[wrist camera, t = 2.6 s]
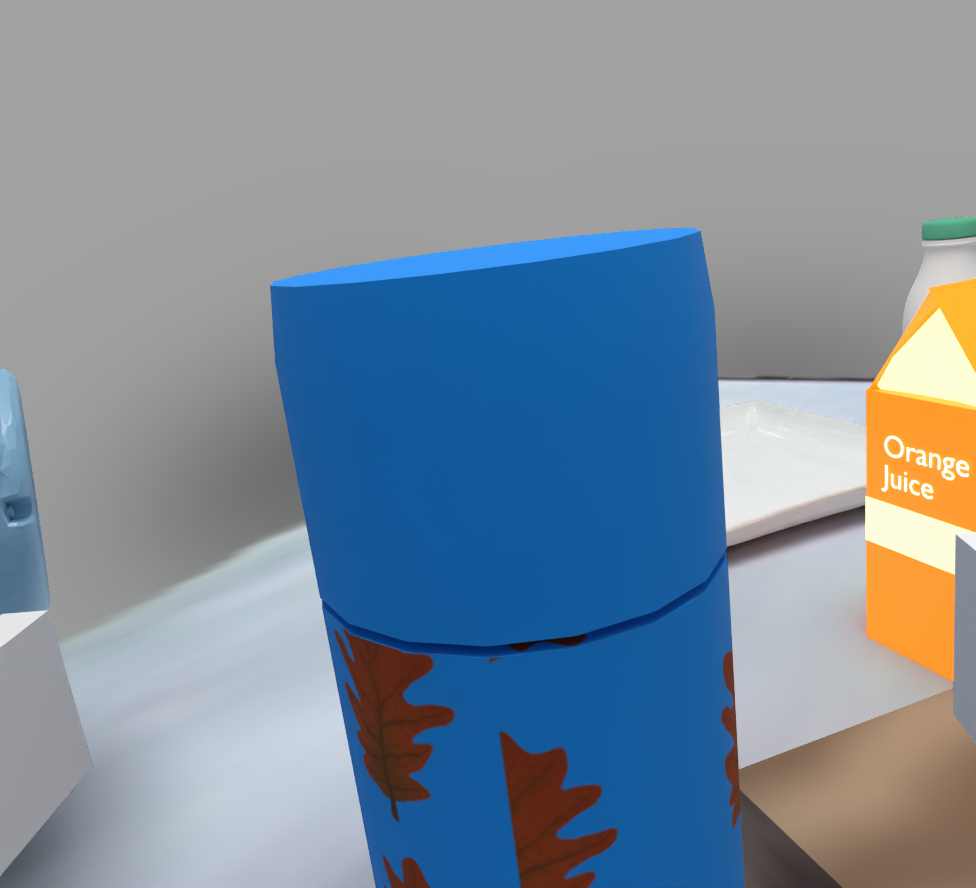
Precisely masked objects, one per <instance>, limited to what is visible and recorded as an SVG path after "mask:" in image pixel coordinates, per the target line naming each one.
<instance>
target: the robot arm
mask: <svg viewBox="0 0 976 888" xmlns="http://www.w3.org/2000/svg"><path fill="white" fill-rule="evenodd" d="M49 600H50V596H49V586H48V578H47V570H46V564H45V555H44V548H43V542H42V534H41V527H40V520H39V514H38V506H37V500H36V493H35V486H34V479H33V472H32V466H31V460H30V454H29V447H28V440H27V433H26V426H25V420H24V414H23V408H22V401H21V395H20V391H19V386H18V381H17V379H16V378H15V376H14V375H13V374H12V373H10V372H9V371H7V370H4V369H0V876H1V875H2V873H3V872H4V871H5V870H6V869H7V868H8V866H9V865H10V864H11V863H12V862H13V860H14V859H15V858H16V857H17V856H18V854H19V853H20V852H21V851H22V850H23V849H24V847H25V846H26V845H27V844H28V843H29V841H30V840H31V839H32V838H33V837H34V835H35V834H36V833H37V832H38V831H39V830H40V828H41V827H42V826H43V825H44V824H45V822H46V821H47V820H48V819H49V818H50V817H51V815H52V814H53V813H54V812H55V811H56V809H57V808H58V807H59V806H60V805H61V803H62V802H63V801H64V800H65V799H66V798H67V796H68V795H69V794H70V793H71V792H72V790H73V789H74V788H75V787H76V786H77V784H78V783H79V782H80V781H81V780H82V779H83V777H84V776H85V775H86V774H87V773H88V771H89V770H90V769H91V768H92V767H93V765H92V761H91V758H90V754H89V751H88V747H87V744H86V740H85V737H84V733H83V730H82V726H81V723H80V719H79V716H78V712H77V709H76V705H75V702H74V698H73V695H72V691H71V688H70V684H69V681H68V677H67V674H66V670H65V667H64V663H63V660H62V656H61V653H60V649H59V646H58V642H57V639H56V635H55V632H54V629H53V625H52V621H51V618H50V614H49V611H48V609H49V604H50V601H49ZM953 715H954V716H955V717H956V719H957V720H958V721H959V722H960V724H961V725H962V726H963V728H964V729H965V730H966V732H967V733H968V734H969V735H970V737H971V738H972V739H973V741H974V742H975V743H976V532H972V533H960V534H955V603H954V674H953Z"/></svg>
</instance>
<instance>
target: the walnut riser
mask: <svg viewBox="0 0 976 888" xmlns="http://www.w3.org/2000/svg"><path fill="white" fill-rule="evenodd" d="M739 788H740V807H741V826H742V845H743V864H744V883H745V888H976V743H975V742H974V741H973V739H972V738H971V737H970V735H969V734H968V733H967V732H966V730H965V729H964V728H963V726H962V725H961V724H960V722H959V721H958V720H957V719H956V717H955V716H954V715H953V689H951V690H948V691H945V692H943V693H940V694H937V695H935V696H932V697H929V698H927V699H924V700H922V701H919V702H916V703H914V704H911V705H908V706H906V707H903V708H900V709H898V710H895V711H892V712H890V713H887V714H885V715H882V716H879V717H877V718H874V719H871V720H869V721H866V722H863V723H861V724H858V725H855V726H853V727H850V728H848V729H845V730H842V731H840V732H837V733H834V734H832V735H829V736H826V737H824V738H821V739H818V740H816V741H813V742H811V743H808V744H805V745H803V746H800V747H797V748H795V749H792V750H789V751H787V752H784V753H781V754H779V755H776V756H774V757H771V758H768V759H766V760H763V761H760V762H758V763H755V764H752V765H750V766H747V767H744V768H742V769H739Z"/></svg>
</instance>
